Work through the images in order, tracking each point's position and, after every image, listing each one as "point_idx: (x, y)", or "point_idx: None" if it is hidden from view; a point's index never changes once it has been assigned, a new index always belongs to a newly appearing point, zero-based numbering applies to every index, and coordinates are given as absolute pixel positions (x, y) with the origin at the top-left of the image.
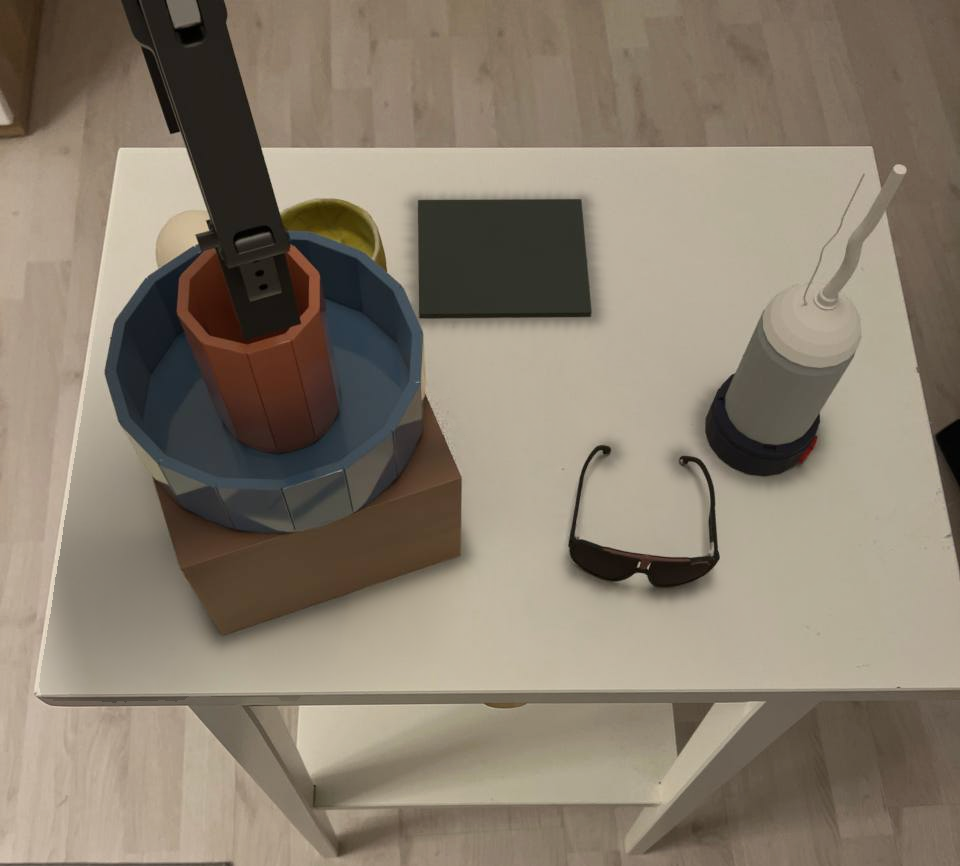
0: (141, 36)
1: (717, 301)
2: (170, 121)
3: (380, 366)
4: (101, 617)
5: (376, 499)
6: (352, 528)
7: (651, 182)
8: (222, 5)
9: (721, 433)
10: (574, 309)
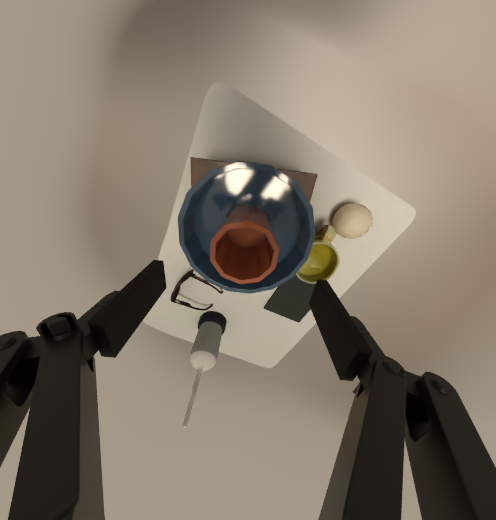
0: None
1: (251, 331)
2: (319, 285)
3: None
4: (234, 114)
5: None
6: None
7: (293, 336)
8: None
9: (210, 317)
10: (267, 305)
